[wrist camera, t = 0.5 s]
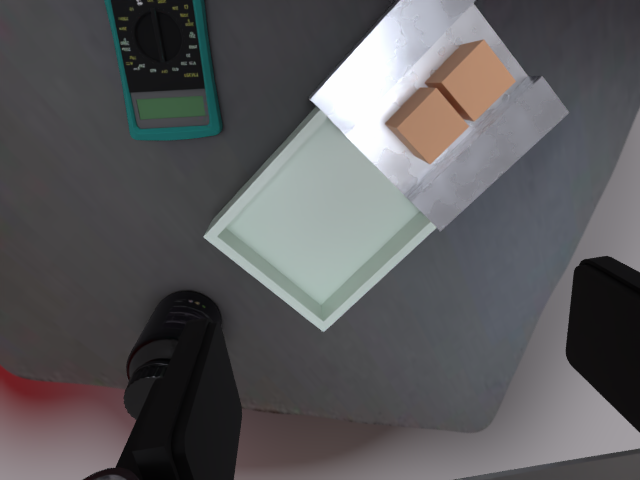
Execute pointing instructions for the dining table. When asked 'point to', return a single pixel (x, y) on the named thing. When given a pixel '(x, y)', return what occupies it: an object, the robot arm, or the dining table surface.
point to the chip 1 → (427, 124)
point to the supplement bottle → (161, 343)
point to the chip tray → (318, 222)
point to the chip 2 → (471, 79)
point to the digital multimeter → (165, 68)
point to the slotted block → (412, 72)
